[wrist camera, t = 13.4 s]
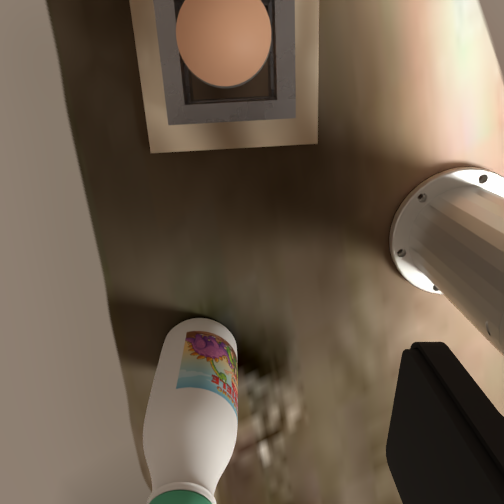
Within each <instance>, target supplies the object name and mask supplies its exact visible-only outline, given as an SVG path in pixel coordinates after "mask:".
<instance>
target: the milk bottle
mask: <svg viewBox="0 0 504 504" xmlns="http://www.w3.org/2000/svg"><path fill="white" fill-rule="evenodd" d="M237 424H238V371H237V346H236V342H235V339H234V337H233V335H232V334H231V332H230V331H229V330H228V329H227V328H226V327H225V326H223V325H222V324H220V323H219V322H216V321H214V320H211V319H207V318H192V319H189V320H185V321H183V322H181V323H179V324H178V325H176V326H175V327H174V328H172V329H171V330H170V332H169V333H168V334H167V336H166V338H165V341H164V344H163V347H162V351H161V354H160V358H159V362H158V366H157V370H156V374H155V378H154V382H153V386H152V390H151V394H150V398H149V402H148V406H147V411H146V416H145V421H144V428H143V447H144V454H145V458H146V461H147V464H148V467H149V470H150V474H151V479H152V488H153V492H152V493H151V495H150V496H149V498H148V500H147V504H216V500H215V498H214V496H213V495H214V491H215V488H216V485H217V483H218V481H219V479H220V477H221V475H222V473H223V471H224V470H225V468H226V466H227V464H228V462H229V460H230V458H231V456H232V453H233V450H234V446H235V442H236V436H237Z"/></svg>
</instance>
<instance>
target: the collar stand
mask: <svg viewBox="0 0 504 504" xmlns="http://www.w3.org/2000/svg"><path fill="white" fill-rule="evenodd" d="M184 1H185V0H129V2H130V9H131V16H132V23H133V30H134V38H135V45H136V52H137V59H138V66H139V73H140V80H141V87H142V94H143V101H144V109H145V116H146V123H147V130H148V137H149V144H150V151H151V153H165V152H183V151H200V150H217V149H235V148H252V147H270V146H287V145H304V144H318V65H319V0H261V2H262V3H263V5H264V7H265V9H266V11H267V13H268V16H269V20H270V24H271V34H272V39H271V48H270V52H269V56H268V58H267V61H266V63H265V64H264V66H263V68H262V69H261V71H260V72H259V73H258V74H257V75H256V76H255V77H254V78H253V79H252V80H250V81H249V82H247V83H245V84H243V85H241V86H238V87H234V88H217V87H213V86H210V85H208V84H205V83H204V82H202V81H200V80H199V79H198V78H197V77H195V76H194V75H193V74H192V73H191V72H190V70H189V69H188V68H187V66H186V65H185V63H184V61H183V59H182V57H181V55H180V52H179V49H178V45H177V39H176V23H177V18H178V14H179V11H180V9H181V7H182V4H183V3H184Z"/></svg>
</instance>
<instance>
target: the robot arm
mask: <svg viewBox="0 0 504 504" xmlns="http://www.w3.org/2000/svg"><path fill="white" fill-rule="evenodd" d="M479 177H480V178H479ZM478 178H479V179H478ZM420 194H421V196H420V197H419V198H418V196H419V195H420ZM389 245H390V252H391V256H392V260H393V262H394V264H395V266H396V268H397V269H398V271H399V272H400V273H401V274H402V276H403V277H404V278H405V279H406V280H407V281H409V282H410V283H411V284H412V285H414V286H415V287H417V288H419V289H421V290H424V291H427V292H430V293H435V294H443V295H444V296H445V297H446V298H447V299H448V300H449V301H450V302H451V303H452V304H453V305H454V306H455V307H456V308H457V309H458V310H459V311H460V312H461V313H462V314H463V315H464V316H465V317H466V318H467V319H468V320H469V321H470V322H471V323H472V324H473V325H474V326H475V327H476V328H477V329H478V330H479V331H480V332H481V333H482V335H483V336H484V337H485V338H486V339H487V340H488V341H489V342H490V343H491V344H492V345H493V346H494V347H495V348H496V349H497V350H498V351H499V352H500V353H501V354H502V355H503V356H504V177H502V176H500V175H499V174H497V173H495V172H492V171H489V170H486V169H482V168H476V167H458V168H453V169H449V170H445V171H443V172H440V173H438V174H435V175H433V176H431V177H430V178H428V179H427V180H425V181H423V182H422V183H420V184H419V185H418V186H417V187H416V188H415V189H414V190H412V191H411V192H410V193H409V195H408V196H407V197H406V198H405V199H404V201H403V202H402V203H401V205H400V207H399V209H398V210H397V212H396V214H395V216H394V219H393V222H392V225H391V229H390V236H389ZM400 249H401V250H400ZM399 250H400V251H399ZM398 251H399V252H398ZM386 457H387V462H388V466H389V469H390V471H391V474H392V476H393V479H394V482H395V484H396V487H397V489H398V492H399V495H400V497H401V500H402V502H403V504H504V417H503V416H502V415H501V414H500V413H499V412H498V410H497V409H496V408H495V407H494V405H493V404H492V403H491V401H490V400H489V399H488V398H487V396H486V395H485V394H484V392H483V391H482V390H481V389H480V387H479V386H478V385H477V383H476V382H475V381H474V380H473V378H472V377H471V376H470V374H469V373H468V372H467V371H466V369H465V368H464V367H463V365H462V364H461V363H460V362H459V360H458V359H457V358H456V356H455V355H454V354H453V353H452V351H451V350H450V349H449V347H448V346H447V345H446V344H445V343H443V342H415V343H413V344H412V346H411V348H410V349H406V350H404V351H403V353H402V358H401V363H400V369H399V375H398V381H397V387H396V392H395V398H394V404H393V410H392V416H391V421H390V427H389V433H388V439H387V445H386Z"/></svg>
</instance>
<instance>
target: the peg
mask: <svg viewBox="0 0 504 504" xmlns="http://www.w3.org/2000/svg"><path fill="white" fill-rule="evenodd" d="M176 39H177V45H178V49H179V52H180V55H181V57H182V59H183V61H184V63H185V65H186V66H187V68H188V69H189V70H190V72H191V73H192V74H193V75H194V76H195V77H197V78H198V79H199V80H200V81H202V82H204V83H205V84H208V85H210V86H213V87H217V88H234V87H238V86H241V85H243V84H245V83H247V82H249V81H250V80H252V79H253V78H254V77H255V76H256V75H257V74H258V73H259V72H260V71H261V69H262V68H263V66H264V64H265V63H266V61H267V58H268V56H269V52H270V48H271V39H272V34H271V24H270V20H269V16H268V13H267V11H266V9H265V7H264V5H263V3H262V2H261V0H185V1H184V3H183V4H182V7H181V9H180V11H179V14H178V18H177V23H176Z"/></svg>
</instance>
